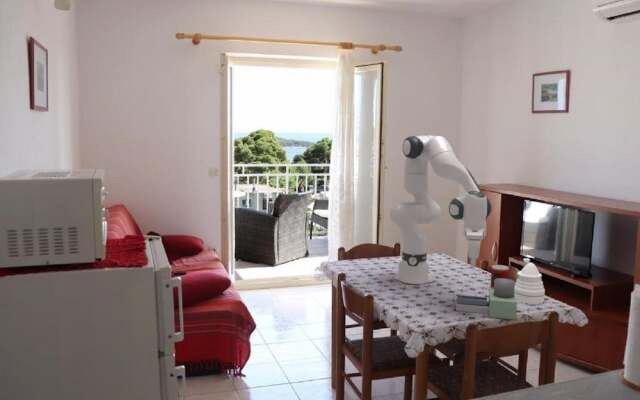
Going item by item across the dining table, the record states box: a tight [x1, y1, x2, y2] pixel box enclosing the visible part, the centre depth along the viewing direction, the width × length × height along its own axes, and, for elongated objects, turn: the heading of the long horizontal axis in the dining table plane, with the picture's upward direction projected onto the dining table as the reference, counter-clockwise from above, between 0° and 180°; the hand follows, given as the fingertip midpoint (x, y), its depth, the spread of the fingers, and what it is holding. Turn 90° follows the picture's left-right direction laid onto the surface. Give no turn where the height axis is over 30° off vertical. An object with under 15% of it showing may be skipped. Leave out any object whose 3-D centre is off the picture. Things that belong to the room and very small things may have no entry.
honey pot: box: [514, 258, 546, 305], centre depth 243 cm, size 13×13×18 cm
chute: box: [456, 294, 488, 307], centre depth 231 cm, size 5×12×5 cm, turn 74°
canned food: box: [490, 264, 510, 289], centre depth 258 cm, size 8×8×11 cm
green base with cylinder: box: [455, 278, 518, 320], centre depth 229 cm, size 17×23×13 cm
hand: (473, 264), depth 229 cm, fingers open, 8 cm apart
